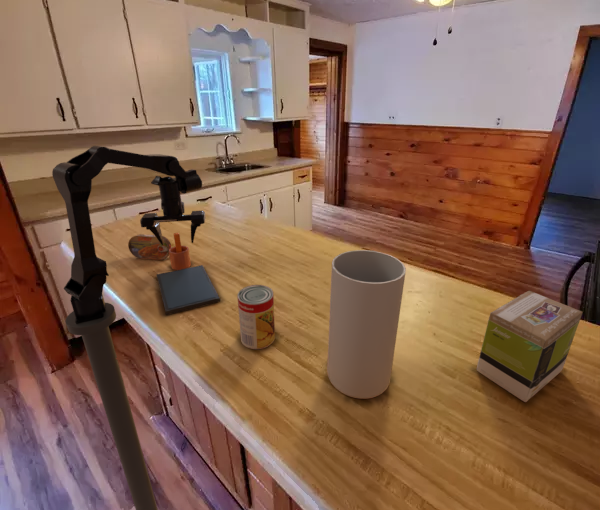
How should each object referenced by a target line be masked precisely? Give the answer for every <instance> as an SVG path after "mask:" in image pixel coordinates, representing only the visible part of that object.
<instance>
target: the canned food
mask: <svg viewBox="0 0 600 510" xmlns="http://www.w3.org/2000/svg"><path fill="white" fill-rule="evenodd" d="M236 295H237V307H238V308H237V309H238V318H239V321H238V322H239V331H240V341H241V344H242V345H243V346H244V347H245V348H248V349H251V350H261V349H265V348H268V347H269V346H271V345H272V344H273V343H274V341H275V339H276V329H275V299H274V298H275V297H274V291H273V289H272V287H271V288H270V287H269V286H267V285H264V284H251V285H247V286H245V287H243V288H240V290H238V292H237V294H236Z"/></svg>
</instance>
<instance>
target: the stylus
mask: <svg viewBox="0 0 600 510" xmlns="http://www.w3.org/2000/svg"><path fill="white" fill-rule="evenodd" d="M173 240H174V247H176V253H180V252H182V248H181V246H182V242H181V235H180V233H179V232H174V233H173Z"/></svg>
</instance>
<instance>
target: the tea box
mask: <svg viewBox="0 0 600 510" xmlns="http://www.w3.org/2000/svg"><path fill="white" fill-rule="evenodd" d="M583 312H584V311H582V310H579V309H577V308H574V307H572V306H569V305H567V304H564V303H561V302H560V301H556V300H554V299H552V298H549V297H547V296H544V295H542V294H539V293H537V292H534V291H532V290H528V291H526V292H524V293H522V294H520V295H518V296H517V297H515V298H513V299H511V300H510V301H508V302H506V303H504V304H503V305H501V306H499V307H497V308H496V309H494V310H493V311H491V312H490V313H489V316H488V319H487V323H486V329H485V332H484V335H483V336H484V337H483V340H482V345H481V349H480V353H479V358H478V361H477V366H476V371H477V372H478V373H480V374H481V375H483V376H484V377H485V378H487V379H489V380H490V381H492V382H493V383H495V384H496V385H498V386H499V387H501V388H502V389H504V390H505V391H507V392H508V393H510V394H512V395H513V396H514V397H515V398H517V399H519V400H520V401H522V402H524V403H527V402H528V401H529V400H531V399H532V398H533V397H534V396H535V395H536V394H537V393H538V392H539V391H541V390H542V389H543V388H545V386H546V385H547V384H549V383H550V382H551V381H552V380H553V379H555V377H557V376H558V375H559V374H560V373H561V372H562V371H563V370H564V366H565V364H566V361H567V359H568V355H569V352H570V350H571V347H572V344H573V341H574V338H575V336H576V332H577V329H578V327H579V325H580V322H581V319H582V316H583Z"/></svg>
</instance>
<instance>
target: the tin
mask: <svg viewBox="0 0 600 510" xmlns="http://www.w3.org/2000/svg"><path fill="white" fill-rule="evenodd" d="M162 237H163V241H164V245H161V243H160V242H159V240H158V239H157V238H156V236H155V235H154V234H144V233H143V234H141V233H140V234H137V235H133V236H132V237H130V238H129V240H128V242H127V247H128V250H129V252H130V254H132V256H133V257H135V258H136V259H141V260H155V261H156V260H157V261H162V260H165V259H166V258H167V257H170V255H169V249H171V248H172V244H171V241H170V240H169V239H168V238H167V237H165V236H164V235H162Z"/></svg>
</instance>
